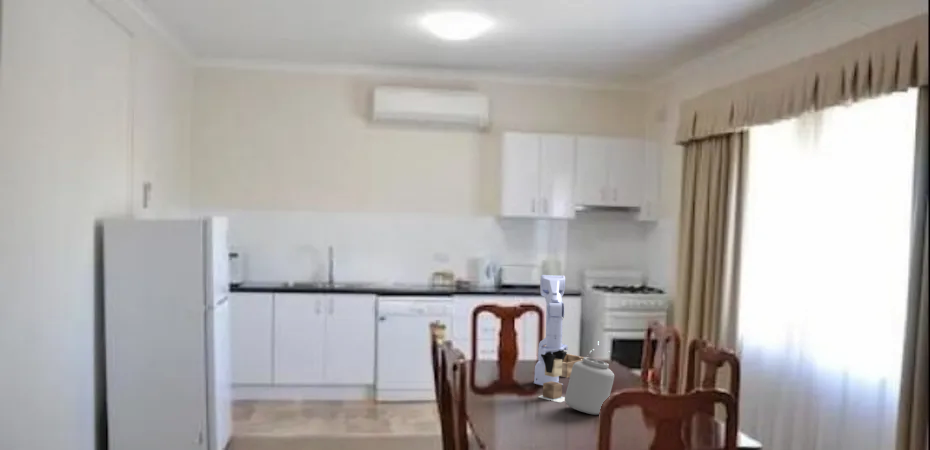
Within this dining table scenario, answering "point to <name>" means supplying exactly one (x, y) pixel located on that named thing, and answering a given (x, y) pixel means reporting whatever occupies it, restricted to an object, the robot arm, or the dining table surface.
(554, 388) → the walnut block
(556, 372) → the maple block
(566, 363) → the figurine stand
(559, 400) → the white flat plate
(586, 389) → the jar
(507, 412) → the dining table surface
